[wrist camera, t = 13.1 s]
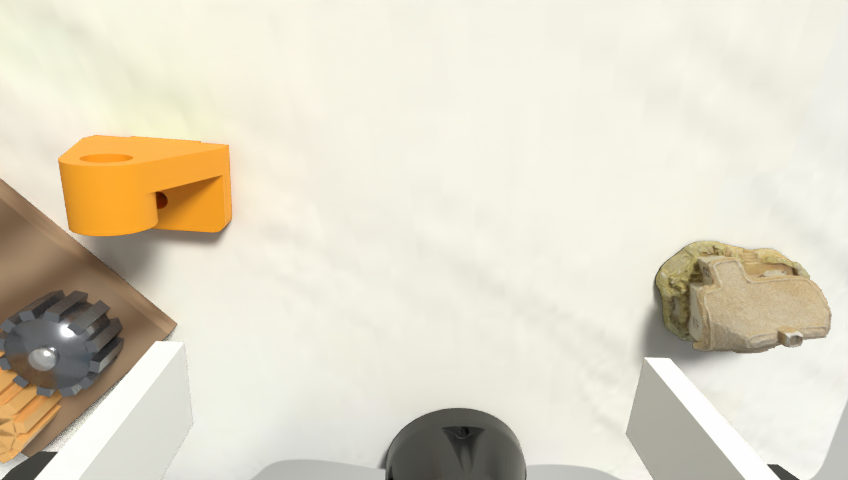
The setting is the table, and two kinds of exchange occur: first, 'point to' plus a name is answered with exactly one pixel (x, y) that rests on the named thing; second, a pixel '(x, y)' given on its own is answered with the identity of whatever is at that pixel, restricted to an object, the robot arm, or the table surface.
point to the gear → (60, 343)
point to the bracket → (145, 185)
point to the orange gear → (22, 413)
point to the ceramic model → (740, 299)
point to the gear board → (68, 270)
